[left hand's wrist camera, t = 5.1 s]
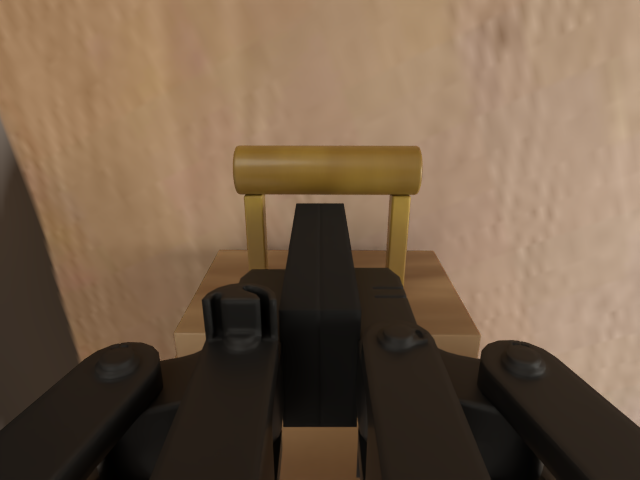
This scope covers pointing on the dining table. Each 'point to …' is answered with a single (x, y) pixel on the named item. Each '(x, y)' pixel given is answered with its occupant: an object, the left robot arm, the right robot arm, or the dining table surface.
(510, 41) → the dining table surface
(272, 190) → the drawer
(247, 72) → the dining table surface
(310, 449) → the cabinet
